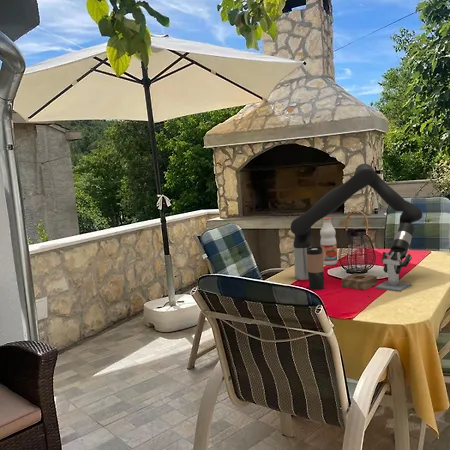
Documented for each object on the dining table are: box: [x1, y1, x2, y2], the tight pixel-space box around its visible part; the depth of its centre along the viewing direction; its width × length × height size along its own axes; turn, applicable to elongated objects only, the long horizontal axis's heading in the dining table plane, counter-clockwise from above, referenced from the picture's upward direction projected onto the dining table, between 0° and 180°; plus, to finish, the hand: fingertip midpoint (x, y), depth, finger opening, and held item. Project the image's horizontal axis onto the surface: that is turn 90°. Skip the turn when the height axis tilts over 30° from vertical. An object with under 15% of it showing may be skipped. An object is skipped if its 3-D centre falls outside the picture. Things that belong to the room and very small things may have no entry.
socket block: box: [341, 272, 378, 291], centre depth 215 cm, size 12×12×4 cm
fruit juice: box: [319, 216, 338, 266], centre depth 264 cm, size 9×9×28 cm
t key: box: [382, 258, 401, 286], centre depth 207 cm, size 8×4×12 cm, turn 44°
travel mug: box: [307, 246, 325, 291], centre depth 216 cm, size 8×8×20 cm
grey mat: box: [374, 280, 413, 293], centre depth 208 cm, size 12×12×1 cm
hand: (391, 272), depth 206 cm, fingers open, 5 cm apart
